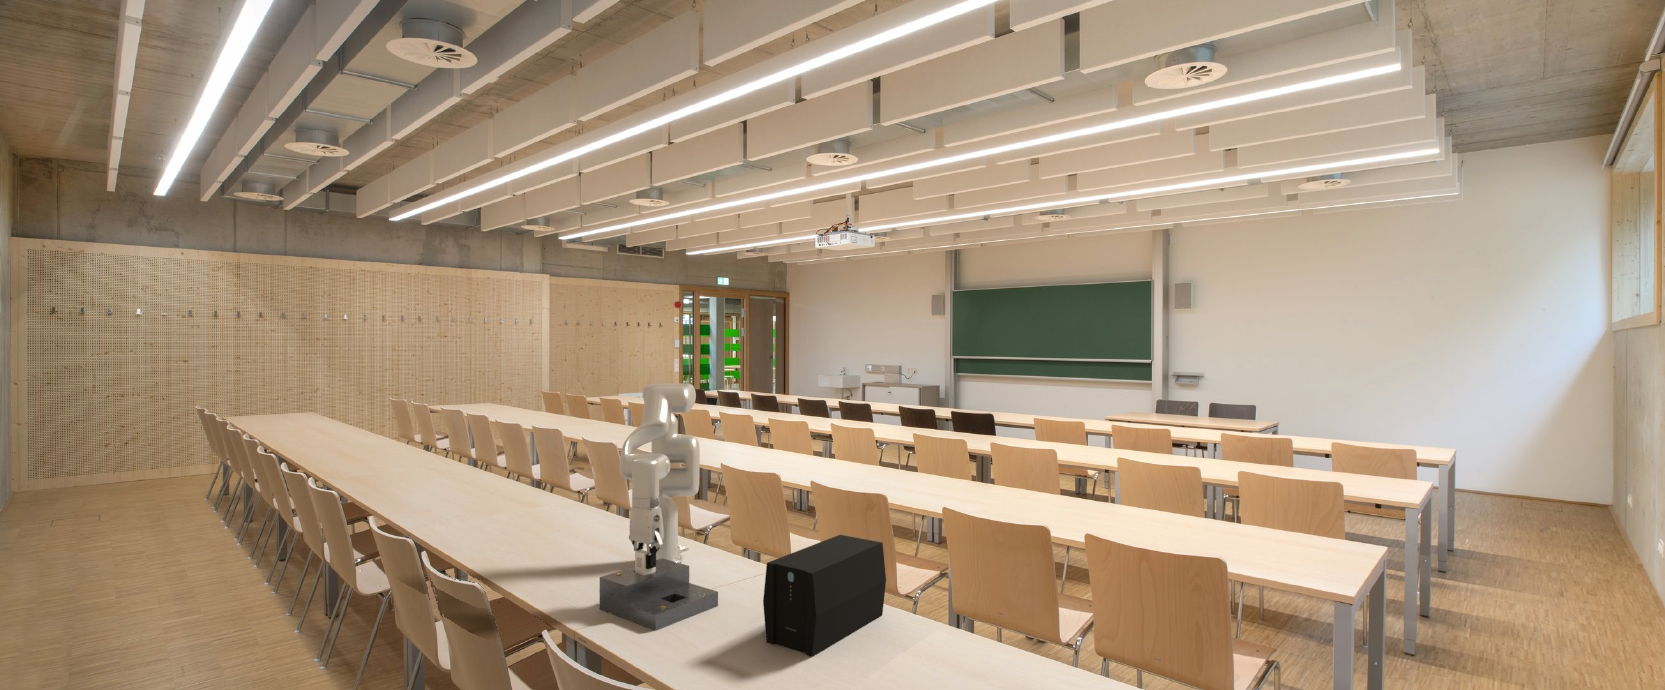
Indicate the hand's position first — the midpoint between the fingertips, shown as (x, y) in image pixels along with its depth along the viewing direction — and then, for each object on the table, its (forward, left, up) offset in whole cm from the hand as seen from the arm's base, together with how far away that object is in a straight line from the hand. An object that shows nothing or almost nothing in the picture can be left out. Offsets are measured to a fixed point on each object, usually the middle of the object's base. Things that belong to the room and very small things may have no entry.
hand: (645, 565), depth 208 cm
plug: (0, 0, -4) cm, 4 cm away
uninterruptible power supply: (-18, +52, -11) cm, 56 cm away
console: (0, +6, -11) cm, 12 cm away
